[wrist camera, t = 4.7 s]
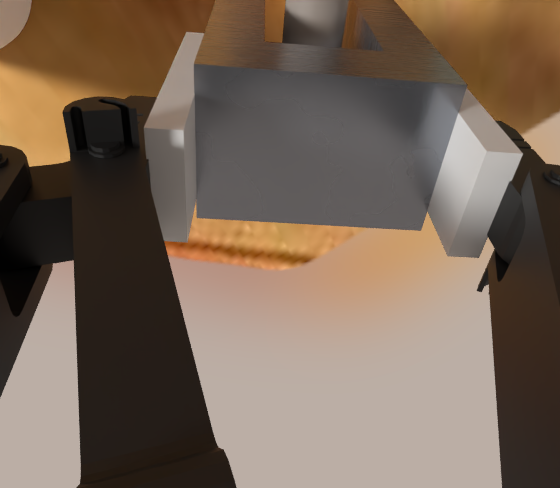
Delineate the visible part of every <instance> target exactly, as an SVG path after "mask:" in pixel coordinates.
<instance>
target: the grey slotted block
mask: <svg viewBox="0 0 560 488" xmlns="http://www.w3.org/2000/svg"><path fill="white" fill-rule="evenodd" d="M264 29H265V0H215V3H214V6H213V9H212V12H211V15H210V18H209V21H208V24H207V27H206V29H205V32H204V35H203V38H202V41H201V44H200V47H199V50H198V53H197V55H196V58H195V61H194V93H195V140H196V190H197V197H196V205H197V218H208V219H225V220H243V221H260V222H278V223H295V224H313V225H331V226H348V227H366V228H383V229H401V230H418V231H420V230H421V229H422V226H423V223H424V220H425V217H426V213H427V209H428V206H429V203H430V200H431V197H432V194H433V191H434V187H435V184H436V181H437V178H438V175H439V172H440V169H441V166H442V162H443V159H444V156H445V153H446V150H447V147H448V144H449V140H450V137H451V134H452V131H453V128H454V125H455V122H456V119H457V115H458V113H459V110H460V107H461V104H462V101H463V98H464V95H465V92H466V88H467V84H466V83H465V82H464V80H463V79H462V78H461V77H460V76H459V75H458V74H457V72H456V71H455V70H454V69H453V68H452V67H451V65H450V64H449V63H448V62H447V61H446V60H445V59H444V57H443V56H442V55H441V54H440V53H439V52H438V51H437V49H436V48H435V47H434V46H433V45H432V44H431V42H430V41H429V40H428V39H427V38H426V37H425V36H424V34H423V33H422V32H421V31H420V30H419V29H418V27H417V26H416V25H415V24H414V23H413V22H412V21H411V19H410V18H409V17H408V16H407V15H406V14H405V13H404V11H403V10H402V9H401V8H400V7H399V6H398V4H397V3H396V2H395V1H394V0H349V2H348V8H347V15H346V21H345V28H344V34H343V41H342V47H341V48H336V47H324V46H311V45H299V44H287V43H275V42H264Z"/></svg>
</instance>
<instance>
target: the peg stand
mask: <svg viewBox="0 0 560 488" xmlns="http://www.w3.org/2000/svg"><path fill="white" fill-rule="evenodd" d="M348 2H349V0H286V5H285V16H284V28H283V40H282V43H287V44H299V45H311V46H324V47H336V48H341V47H342V41H343V34H344V28H345V21H346V15H347V8H348Z"/></svg>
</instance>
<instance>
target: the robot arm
mask: <svg viewBox="0 0 560 488" xmlns="http://www.w3.org/2000/svg"><path fill="white" fill-rule="evenodd" d="M203 35H204V33H195V32H186V34H185V36H184V38H183V41H182V43H181V45H180V47H179V50H178V52H177V54H176V56H175V59H174V61H173V63H172V65H171V68H170V70H169V72H168V74H167V77H166V79H165V81H164V83H163V85H162V88H161V90H160V92H159V94H158V97H144V96H129V97H127V98H126V99H119V98H114V97H91V98H84V99H80V100H77V101H74V102H72V103H70V104H68V105H67V106H65V108H64V110H63V117H64V123H65V128H66V133H67V138H68V144H69V149H70V161H68V162H64V163H59V164H53V165H43V166H33V167H29V165H28V161H27V157H26V155H25V154H24V153H23V151H22V150H19V149H17V148H15V147H12V146H4V145H0V397H1V395H2V392H3V390H4V387H5V385H6V382H7V380H8V377H9V375H10V372H11V370H12V368H13V365H14V363H15V360H16V357H17V355H18V353H19V350H20V348H21V345H22V343H23V340H24V338H25V336H26V333H27V331H28V328H29V325H30V323H31V321H32V318H33V316H34V313H35V311H36V309H37V306H38V303H39V301H40V299H41V296H42V294H43V291H44V289H45V286H46V284H47V281H48V279H49V276H50V274H51V271H52V267H53V266H52V265H53V263H59V262H65V261H71V260H74V278H75V307H76V308H75V309H76V336H77V367H78V396H79V425H80V455H81V479H80V484H79V485H78V487H77V488H236V484H235V480H234V478H233V474H232V471H231V467H230V465H229V461H228V458H227V456H226V454H225V452H224V450H223V449H221V448H218V446H217V443H216V441H215V437H214V434H213V431H212V427H211V423H210V419H209V415H208V411H207V407H206V403H205V399H204V395H203V392H202V388H201V384H200V380H199V376H198V372H197V368H196V364H195V360H194V356H193V352H192V348H191V344H190V341H189V337H188V334H187V329H186V325H185V322H184V318H183V313H182V309H181V305H180V302H179V298H178V294H177V290H176V286H175V282H174V278H173V274H172V271H171V267H170V262H169V259H168V255H167V251H166V247H165V243H164V241H174V242H188V237H189V232H190V227H191V222H192V217H193V212H194V207H195V202H196V197H197V190H196V140H195V93H194V61H195V58H196V55H197V53H198V50H199V47H200V44H201V41H202V38H203ZM427 211H428V214H429V216H430V218H431V220H432V223H433V225H434V227H435V229H436V231H437V233H438V236H439V238H440V240H441V242H442V245H443V246H444V249H445V251H446V254H447V256H455V257H474V258H479V256H480V254H481V252H482V249H483V247H484V245H485V242H486V240H487V238H488V237H489V239H490V241H491V243H492V244H493V246H494V248H495V249H494V251H493V254H492V256H491V258H490V260H489V263H488V265H487V268H486V269H485V272H484V274H483V276H482V279H481V281H480V283H479V285H478V289H477V291H479V292H482V290H483V288H484V286H486V285H488V284H489V294H490V309H491V324H492V339H493V354H494V370H495V385H496V400H497V416H498V430H499V446H500V461H501V476H502V488H560V166H559V165H552V164H546V163H545V162H544V161H543V160H542V159H541V158H540V157H539V155H538V154H537V153H536V152H535V151H534V150H533V149H531V146H530V145H529V144H528V143H527V142H526V141H524V139H523V138H522V136H521V135H520V134H519V133H518V132H517V131H516V130H515V129H513V128H511V127H510V126H508V125H506V124H505V123H503V122H501V121H495V120H494V119H493V118H492V117H491V116H490V115H489V113H488V112H487V111H486V110H485V109H484V108H483V106H482V105H481V104H480V103H479V102H478V101H477V99H476V98H475V97H474V96H473V95H472V93H471V92H470V91H469V90H468V89H467V88H466V92H465V95H464V98H463V101H462V104H461V107H460V110H459V113H458V115H457V119H456V122H455V125H454V128H453V131H452V134H451V137H450V140H449V144H448V147H447V150H446V153H445V156H444V159H443V162H442V166H441V169H440V172H439V175H438V178H437V181H436V184H435V187H434V191H433V194H432V197H431V200H430V203H429V206H428V209H427Z"/></svg>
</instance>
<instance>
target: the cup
mask: <svg viewBox="0 0 560 488" xmlns="http://www.w3.org/2000/svg"><path fill="white" fill-rule="evenodd" d="M31 3H32V0H0V49H1V48H3V47H4V46H6V45H7V44H8V43H10V42H11V41H12V40H14V39H15V38H16V37H17V36H18V35H19V34H20V32H21V31H22V29H23V28H24V26H25V24H26V22H27V20H28V17H29V14H30V10H31Z"/></svg>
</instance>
